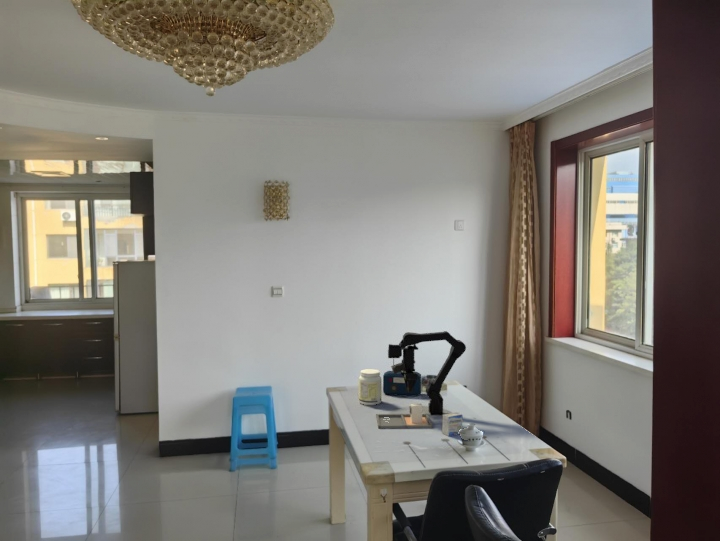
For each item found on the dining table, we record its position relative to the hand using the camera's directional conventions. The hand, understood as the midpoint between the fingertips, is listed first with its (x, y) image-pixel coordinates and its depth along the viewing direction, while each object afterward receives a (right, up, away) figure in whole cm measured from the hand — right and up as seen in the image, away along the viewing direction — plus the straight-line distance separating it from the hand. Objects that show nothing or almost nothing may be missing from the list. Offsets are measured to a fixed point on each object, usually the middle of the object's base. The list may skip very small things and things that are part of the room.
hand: (408, 389), depth 262 cm
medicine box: (+17, -14, -28) cm, 36 cm away
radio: (0, -11, +35) cm, 37 cm away
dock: (-4, -13, -14) cm, 19 cm away
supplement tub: (-19, -11, +18) cm, 29 cm away
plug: (+3, -12, -14) cm, 19 cm away
